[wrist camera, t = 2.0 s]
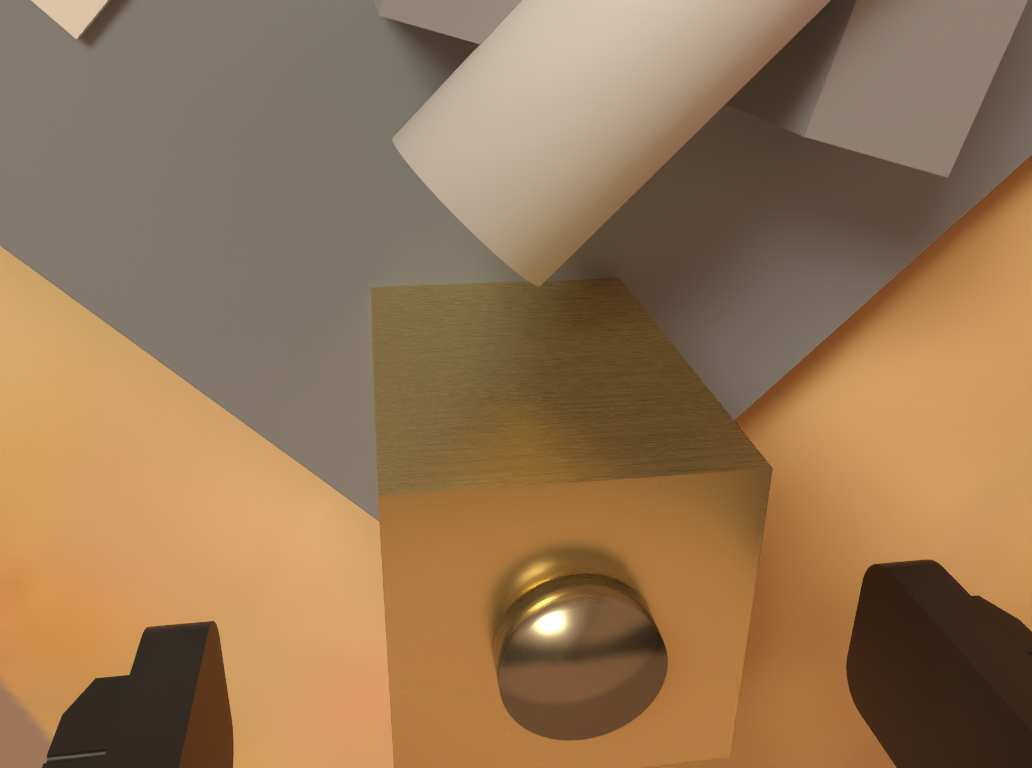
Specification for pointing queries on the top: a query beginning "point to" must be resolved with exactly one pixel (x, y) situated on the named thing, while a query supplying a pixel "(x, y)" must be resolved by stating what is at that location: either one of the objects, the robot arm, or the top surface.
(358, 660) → the top surface
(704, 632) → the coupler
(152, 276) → the shaft base
